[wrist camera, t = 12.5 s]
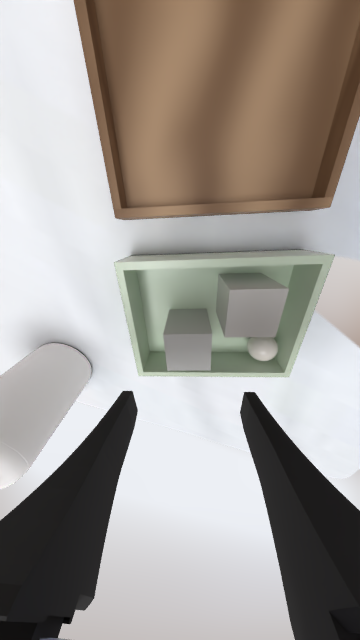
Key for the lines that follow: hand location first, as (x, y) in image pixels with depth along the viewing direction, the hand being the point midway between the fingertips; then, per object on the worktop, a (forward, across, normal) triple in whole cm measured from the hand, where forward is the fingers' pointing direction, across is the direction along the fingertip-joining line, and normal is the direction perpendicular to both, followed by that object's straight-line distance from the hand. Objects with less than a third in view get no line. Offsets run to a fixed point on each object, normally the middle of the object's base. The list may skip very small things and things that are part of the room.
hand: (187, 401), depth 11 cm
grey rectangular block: (+9, -5, -4) cm, 11 cm away
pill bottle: (+10, +18, +6) cm, 21 cm away
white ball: (+9, -8, +2) cm, 12 cm away
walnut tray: (+10, -3, -17) cm, 20 cm away
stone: (+9, 0, 0) cm, 9 cm away
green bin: (+10, -2, -2) cm, 10 cm away
